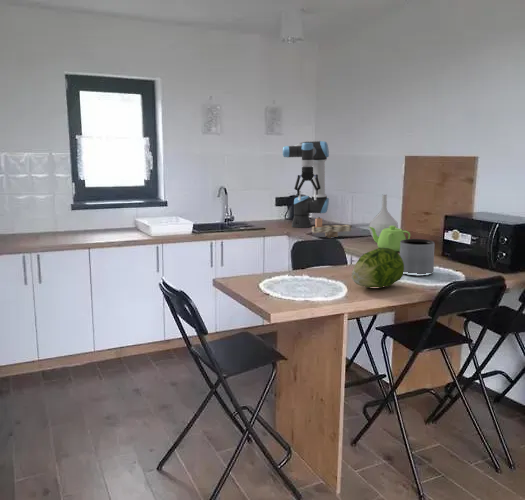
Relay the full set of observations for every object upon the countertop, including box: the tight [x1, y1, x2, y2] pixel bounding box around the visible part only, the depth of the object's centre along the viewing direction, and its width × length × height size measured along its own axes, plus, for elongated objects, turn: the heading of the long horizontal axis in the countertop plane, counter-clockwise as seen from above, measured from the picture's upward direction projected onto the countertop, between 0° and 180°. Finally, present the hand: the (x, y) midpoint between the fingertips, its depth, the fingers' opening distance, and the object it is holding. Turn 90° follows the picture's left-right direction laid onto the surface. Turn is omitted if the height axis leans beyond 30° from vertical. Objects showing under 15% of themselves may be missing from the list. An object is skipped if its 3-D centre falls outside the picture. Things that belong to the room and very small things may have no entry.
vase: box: [368, 194, 399, 238], centre depth 336 cm, size 18×18×30 cm
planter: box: [399, 238, 436, 274], centre depth 249 cm, size 16×16×16 cm
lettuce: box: [351, 247, 404, 288], centre depth 225 cm, size 17×23×17 cm
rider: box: [314, 216, 323, 227], centre depth 351 cm, size 4×3×8 cm
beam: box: [311, 224, 352, 239], centre depth 354 cm, size 26×8×8 cm, turn 101°
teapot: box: [368, 226, 411, 253], centre depth 307 cm, size 19×20×14 cm
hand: (307, 200), depth 347 cm, fingers open, 10 cm apart
